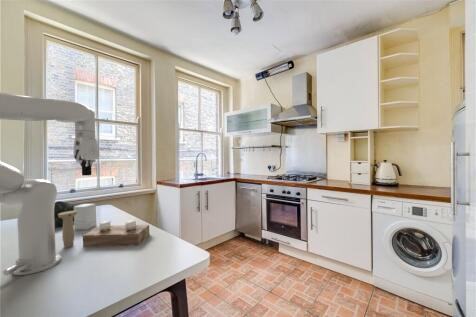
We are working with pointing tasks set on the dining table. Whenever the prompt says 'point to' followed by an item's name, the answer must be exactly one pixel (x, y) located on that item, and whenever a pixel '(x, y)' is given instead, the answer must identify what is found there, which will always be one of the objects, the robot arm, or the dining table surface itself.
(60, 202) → the squash
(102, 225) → the knob
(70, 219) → the handle
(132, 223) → the knob
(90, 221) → the supplement box
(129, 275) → the dining table surface
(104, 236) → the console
